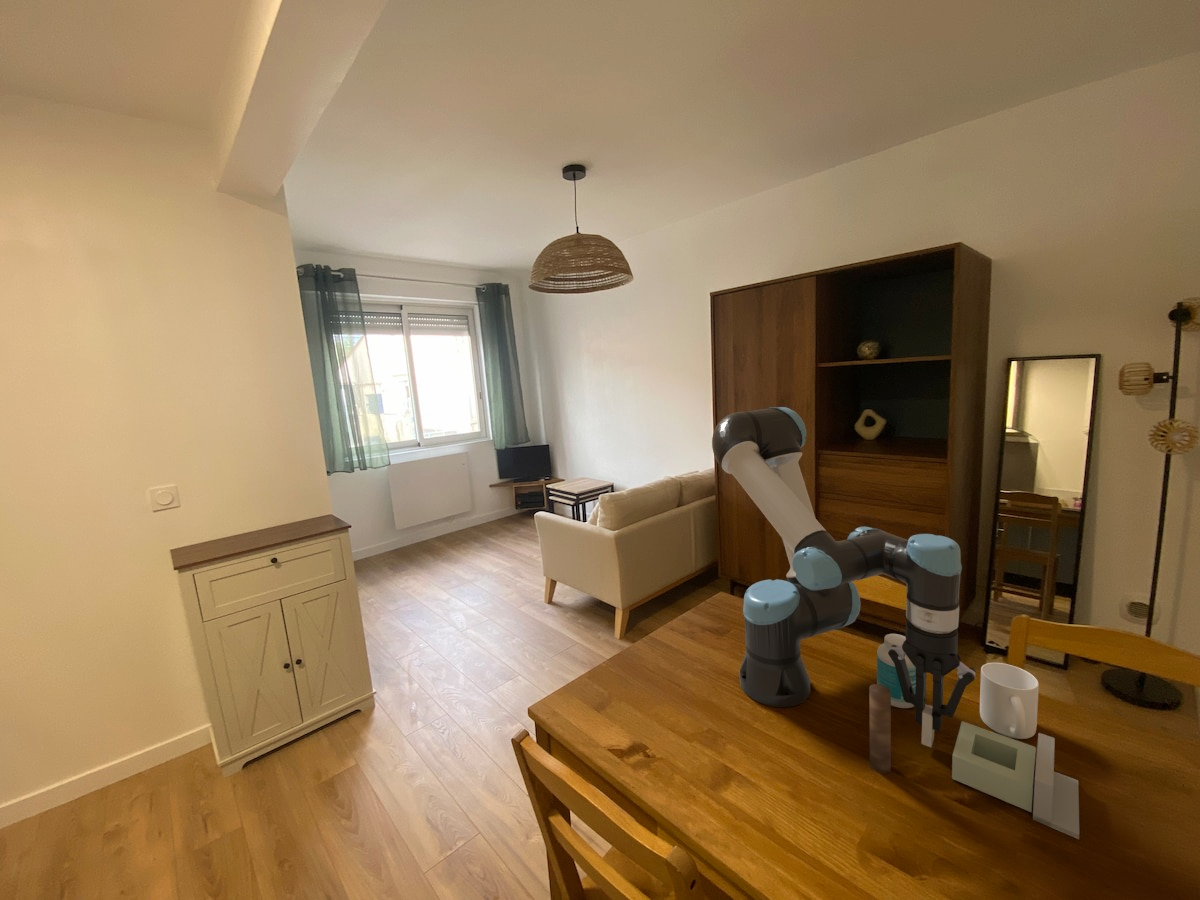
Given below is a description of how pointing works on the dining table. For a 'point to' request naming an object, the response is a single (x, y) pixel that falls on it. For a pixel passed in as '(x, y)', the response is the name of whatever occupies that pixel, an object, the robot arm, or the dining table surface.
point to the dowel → (880, 728)
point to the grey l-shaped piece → (1054, 792)
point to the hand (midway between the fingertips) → (927, 741)
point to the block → (995, 765)
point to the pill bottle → (893, 670)
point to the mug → (1009, 700)
